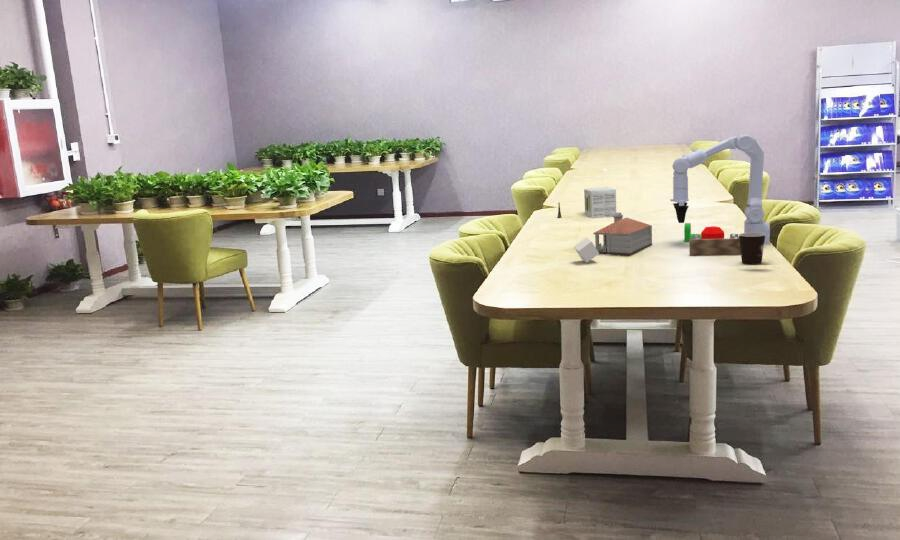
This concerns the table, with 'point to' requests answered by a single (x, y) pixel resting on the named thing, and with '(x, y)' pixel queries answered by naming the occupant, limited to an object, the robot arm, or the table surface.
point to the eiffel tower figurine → (559, 212)
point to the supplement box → (600, 202)
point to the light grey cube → (586, 250)
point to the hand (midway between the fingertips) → (680, 221)
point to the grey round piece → (700, 238)
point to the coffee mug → (751, 247)
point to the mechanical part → (688, 232)
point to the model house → (624, 237)
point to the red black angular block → (712, 233)
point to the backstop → (715, 247)
